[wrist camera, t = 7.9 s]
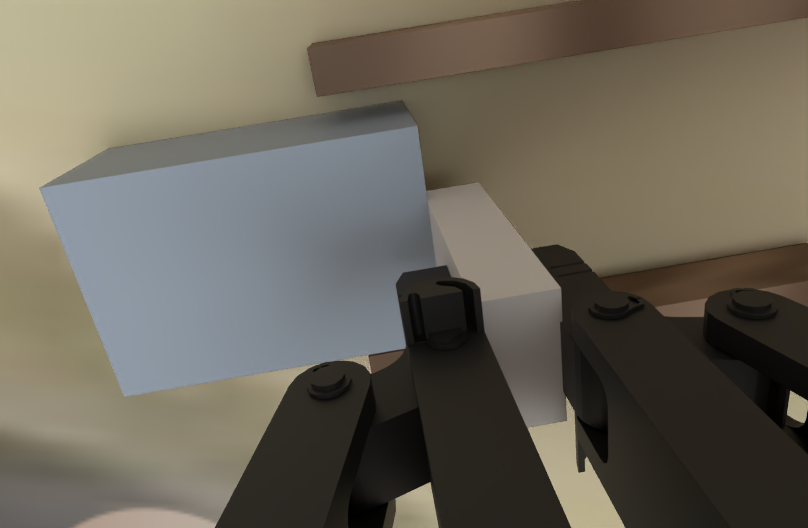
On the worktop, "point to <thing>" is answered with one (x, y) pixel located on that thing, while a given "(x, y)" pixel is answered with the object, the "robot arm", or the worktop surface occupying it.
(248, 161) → the slate block
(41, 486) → the worktop surface
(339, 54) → the walnut channel
